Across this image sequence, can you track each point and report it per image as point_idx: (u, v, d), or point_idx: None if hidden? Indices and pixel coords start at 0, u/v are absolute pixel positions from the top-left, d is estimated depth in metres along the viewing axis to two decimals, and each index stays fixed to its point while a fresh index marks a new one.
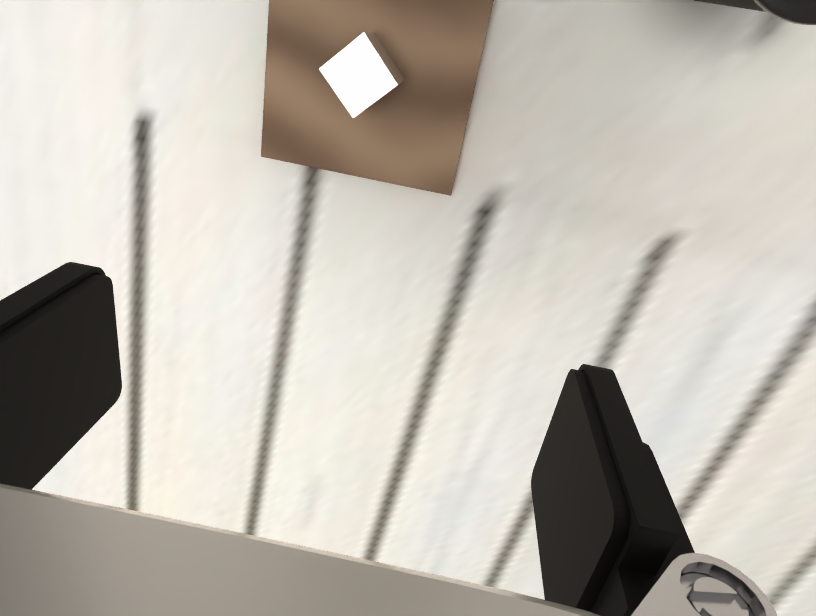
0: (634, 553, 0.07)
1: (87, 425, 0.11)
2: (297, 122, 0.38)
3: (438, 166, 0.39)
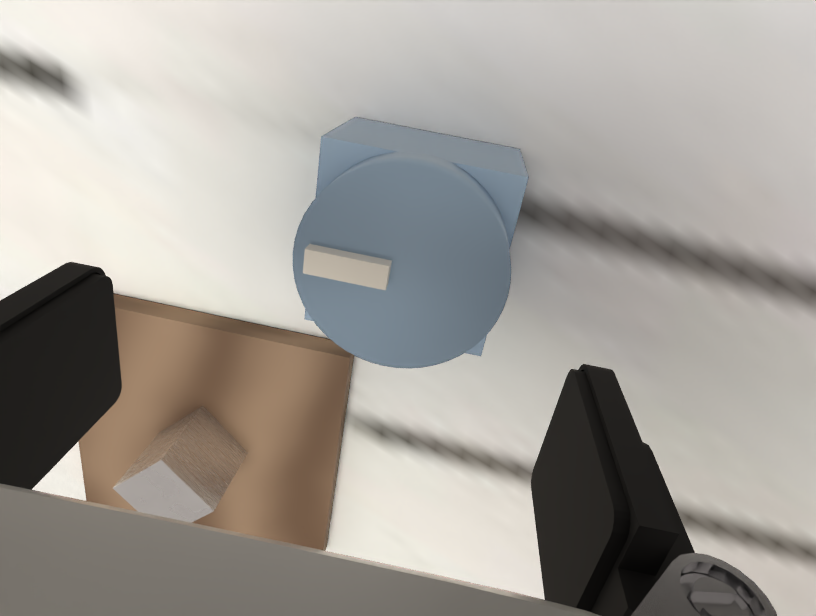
0: (634, 553, 0.07)
1: (87, 425, 0.11)
2: (121, 352, 0.27)
3: (117, 500, 0.31)
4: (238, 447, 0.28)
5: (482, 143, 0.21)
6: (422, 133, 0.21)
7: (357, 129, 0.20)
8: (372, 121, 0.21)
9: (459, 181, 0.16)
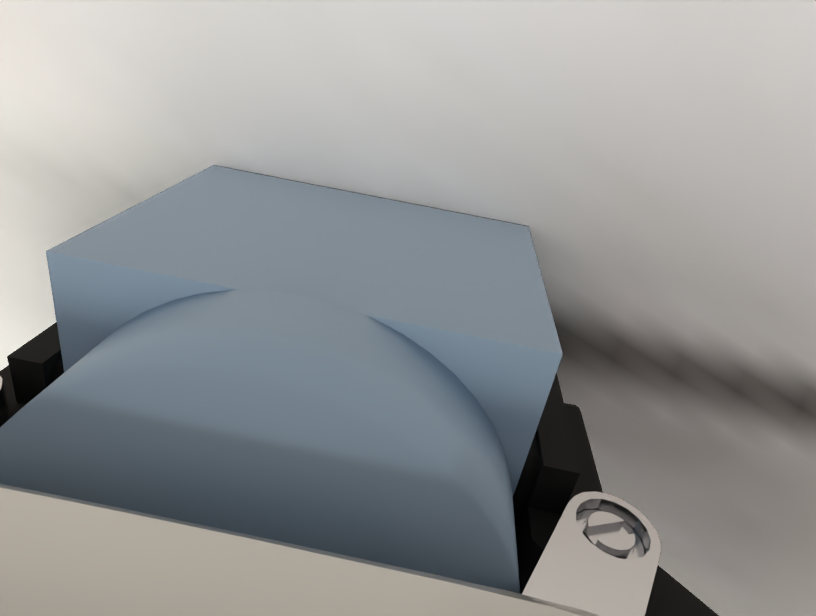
0: (542, 493, 0.08)
1: None
2: None
3: None
4: None
5: (456, 218, 0.11)
6: (337, 201, 0.11)
7: (186, 206, 0.09)
8: (243, 175, 0.11)
9: (373, 417, 0.05)
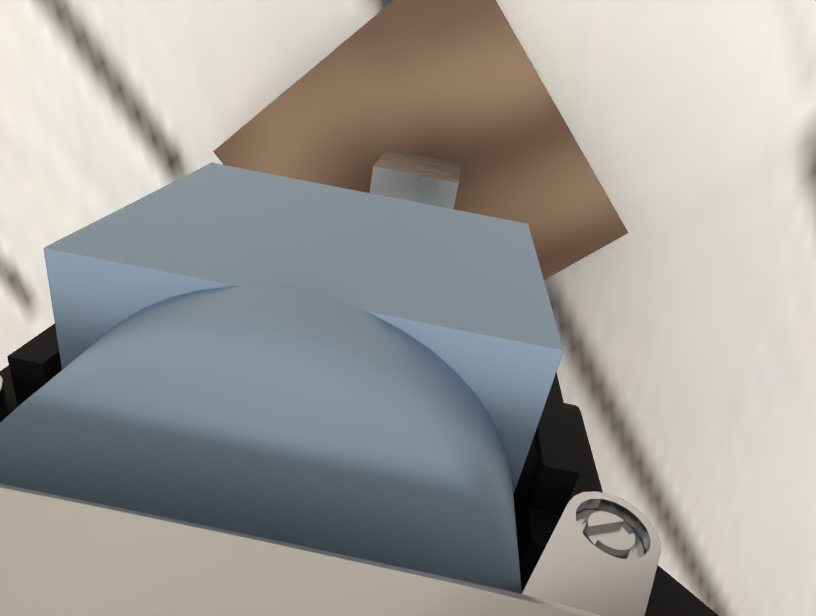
0: (542, 493, 0.08)
1: None
2: (450, 50, 0.23)
3: (258, 169, 0.26)
4: None
5: (455, 216, 0.11)
6: (336, 198, 0.11)
7: (184, 203, 0.09)
8: (242, 172, 0.11)
9: (374, 414, 0.05)
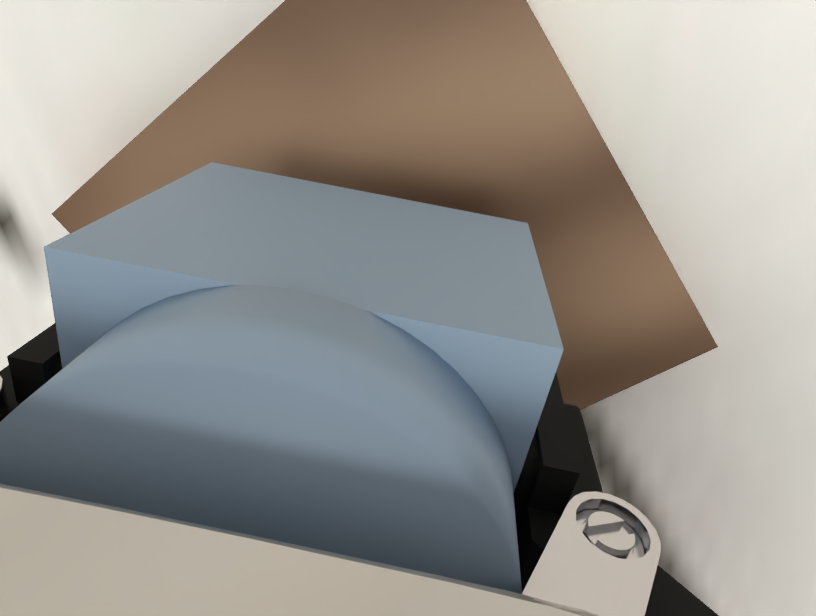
0: (542, 493, 0.08)
1: None
2: (426, 52, 0.13)
3: None
4: None
5: (455, 215, 0.11)
6: (336, 198, 0.11)
7: (184, 202, 0.09)
8: (242, 172, 0.11)
9: (374, 412, 0.05)
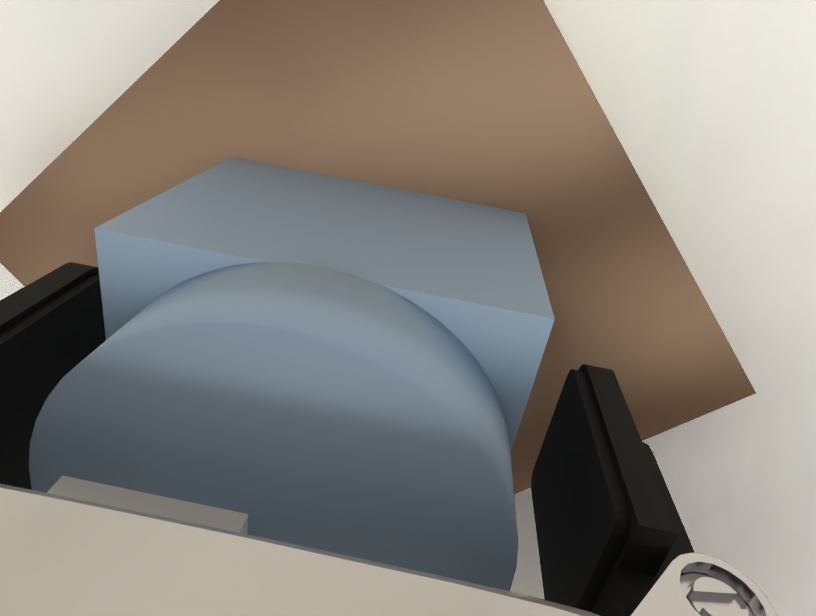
0: (634, 553, 0.07)
1: None
2: (411, 46, 0.11)
3: None
4: None
5: (458, 205, 0.12)
6: (348, 189, 0.12)
7: (211, 192, 0.10)
8: (261, 165, 0.12)
9: (389, 366, 0.06)
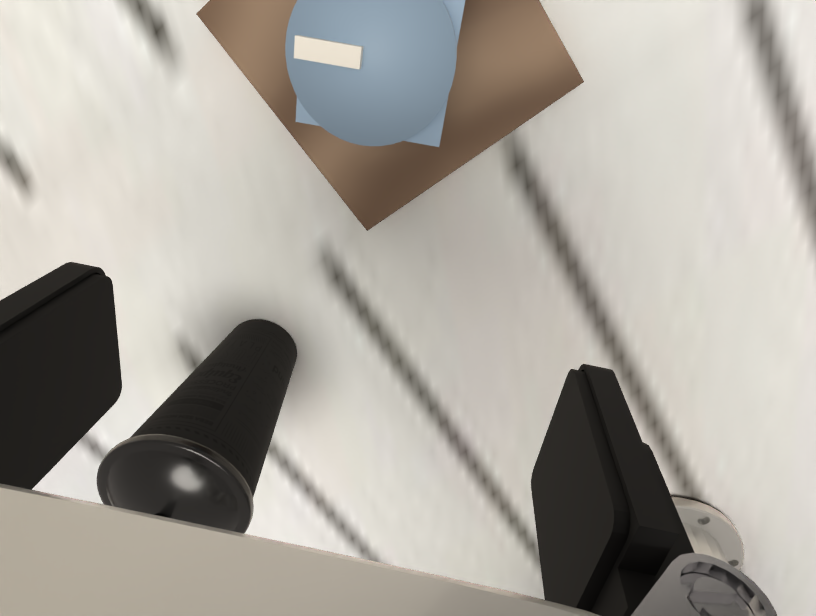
0: (634, 553, 0.07)
1: (87, 425, 0.11)
2: None
3: (239, 30, 0.28)
4: None
5: None
6: None
7: None
8: None
9: None
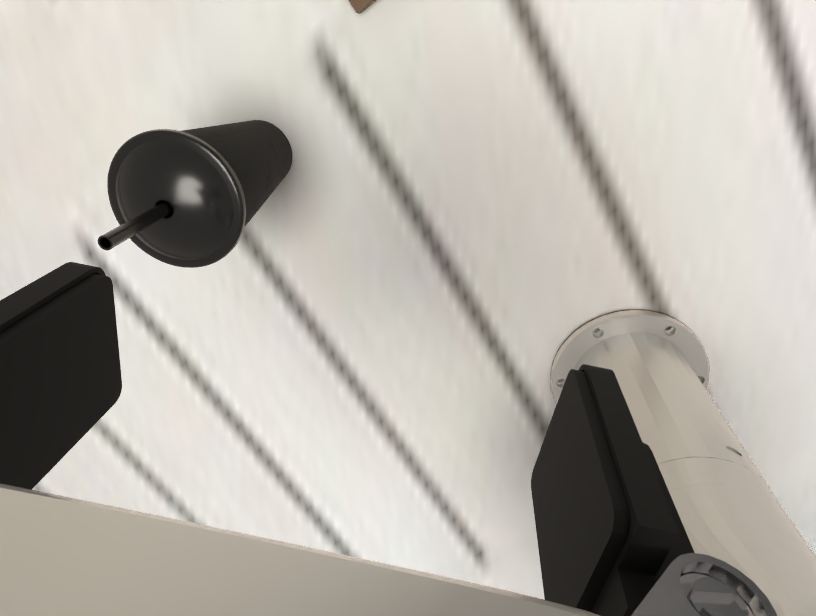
0: (634, 553, 0.07)
1: (87, 425, 0.11)
2: None
3: None
4: None
5: None
6: None
7: None
8: None
9: None
